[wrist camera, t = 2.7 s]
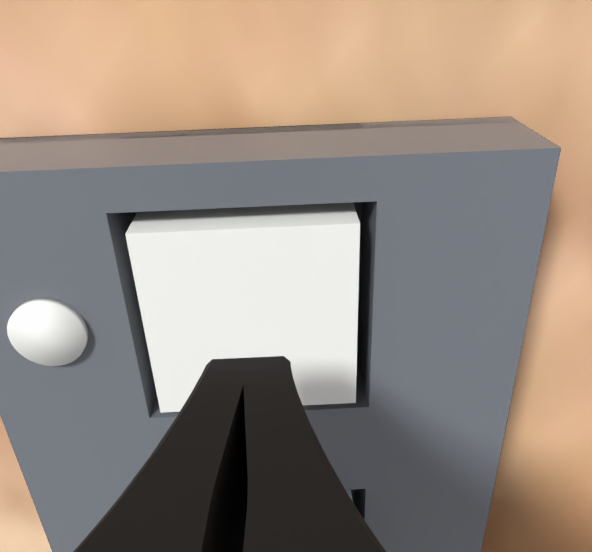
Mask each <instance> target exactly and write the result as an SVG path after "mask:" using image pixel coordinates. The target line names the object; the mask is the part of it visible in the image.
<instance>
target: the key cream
mask: <svg viewBox="0 0 592 552" xmlns="http://www.w3.org/2000/svg"><path fill="white" fill-rule="evenodd" d="M125 236H126V241H127V246H128V251H129V256H130V261H131V266H132V271H133V276H134V281H135V286H136V291H137V296H138V301H139V306H140V312H141V317H142V322H143V327H144V332H145V337H146V342H147V347H148V352H149V357H150V362H151V367H152V372H153V377H154V382H155V388H156V393H157V398H158V403H159V408H160V413H163V412H180V411H181V409H182V407H183V406H184V404H185V402H186V401H187V399H188V397H189V396H190V394H191V392H192V391H193V389H194V387H195V385H196V384H197V382H198V380H199V378H200V376H201V374H202V372H203V371H204V369H205V367H206V365H207V364H208V363H209V362H210V361H211V360H212V359H228V358H251V357H273V356H284V357H286V358H287V359H288V360H289V361H290V363H291V370H292V375H293V379H294V382H295V386H296V389H297V392H298V395H299V397H300V400H301V402H302V405H323V404H343V403H356V375H357V333H358V292H359V250H360V221H359V219H358V216H357V213H356V210H355V207H354V204H353V202H351V203H328V204H306V205H283V206H261V207H238V208H216V209H193V210H171V211H148V212H137V214H136V215H135V217H134V219H133V221H132V223H131V224H130V226H129V228H128V230H127V232H126V233H125Z"/></svg>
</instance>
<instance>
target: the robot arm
mask: <svg viewBox="0 0 592 552" xmlns="http://www.w3.org/2000/svg"><path fill="white" fill-rule="evenodd" d="M73 552H386V551H385V549H384V548H383V547H382V545H381V544H380V542H379V541H378V539H377V538H376V536H375V535H374V534H373V532H372V531H371V529H370V528H369V526H368V525H367V523H366V522H365V520H364V519H363V517H362V516H361V514H360V513H359V511H358V509H357V508H356V506H355V505H354V503H353V501H352V500H351V498H350V497H349V495H348V493H347V492H346V490H345V488H344V486H343V485H342V483H341V481H340V480H339V478H338V476H337V474H336V473H335V471H334V469H333V467H332V466H331V464H330V462H329V460H328V458H327V456H326V454H325V452H324V451H323V449H322V446H321V444H320V442H319V440H318V438H317V436H316V434H315V432H314V430H313V428H312V426H311V424H310V422H309V419H308V417H307V415H306V412H305V410H304V408H303V405H302V402H301V400H300V397H299V395H298V392H297V389H296V386H295V382H294V379H293V375H292V370H291V363H290V361H289V360H288V359H287V358H286V357H284V356H273V357H251V358H228V359H212V360H211V361H210V362H209V363H208V364H207V365H206V367H205V369H204V371H203V372H202V374H201V376H200V378H199V380H198V382H197V384H196V385H195V387H194V389H193V391H192V392H191V394H190V396H189V397H188V399H187V401H186V402H185V404H184V406H183V407H182V409H181V411H180V412H179V414H178V415H177V417H176V419H175V420H174V422H173V423H172V425H171V426H170V428H169V429H168V431H167V432H166V434H165V435H164V437H163V438H162V440H161V441H160V443H159V444H158V446H157V447H156V449H155V450H154V451H153V453H152V454H151V456H150V457H149V458H148V460H147V461H146V462H145V464H144V465H143V466H142V468H141V469H140V470H139V472H138V473H137V474H136V476H135V477H134V478H133V480H132V481H131V482H130V484H129V485H128V486H127V488H126V489H125V490H124V492H123V493H122V494H121V496H120V497H119V498H118V499H117V501H116V502H115V503H114V504H113V506H112V507H111V508H110V509H109V511H108V512H107V513H106V514H105V515H104V517H103V518H102V519H101V520H100V521H99V523H98V524H97V525H96V526H95V527H94V529H93V530H92V531H91V532H90V533H89V534H88V535H87V537H86V538H85V539H84V540H83V541H82V542H81V543H80V544H79V546H78V547H77V548H76V549H75V550H74V551H73Z"/></svg>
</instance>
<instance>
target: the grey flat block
mask: <svg viewBox="0 0 592 552" xmlns="http://www.w3.org/2000/svg"><path fill="white" fill-rule="evenodd" d="M560 151H561V147H559V146H558V145H556V144H554V143H553V142H551V141H549V140H548V139H546V138H545V137H543V136H541V135H540V134H538V133H537V132H535V131H533V130H532V129H530V128H528V127H527V126H525V125H524V124H522V123H520V122H519V121H517V120H516V119H514V118H512V117H491V118H467V119H444V120H420V121H396V122H373V123H349V124H325V125H301V126H278V127H254V128H230V129H206V130H183V131H159V132H135V133H111V134H88V135H64V136H40V137H17V138H0V415H1V418H2V421H3V423H4V426H5V428H6V431H7V434H8V436H9V439H10V442H11V444H12V447H13V450H14V452H15V455H16V457H17V460H18V463H19V465H20V468H21V471H22V473H23V476H24V478H25V481H26V484H27V486H28V489H29V492H30V494H31V497H32V499H33V502H34V505H35V507H36V510H37V513H38V515H39V518H40V521H41V523H42V526H43V528H44V531H45V534H46V536H47V539H48V542H49V544H50V547H51V549H52V552H73V551H74V550H75V549H76V548H77V547H78V546H79V544H80V543H81V542H82V541H83V540H84V539H85V538H86V537H87V535H88V534H89V533H90V532H91V531H92V530H93V529H94V527H95V526H96V525H97V524H98V523H99V521H100V520H101V519H102V518H103V517H104V515H105V514H106V513H107V512H108V511H109V509H110V508H111V507H112V506H113V504H114V503H115V502H116V501H117V499H118V498H119V497H120V496H121V494H122V493H123V492H124V490H125V489H126V488H127V486H128V485H129V484H130V482H131V481H132V480H133V478H134V477H135V476H136V474H137V473H138V472H139V470H140V469H141V468H142V466H143V465H144V464H145V462H146V461H147V460H148V458H149V457H150V456H151V454H152V453H153V451H154V450H155V449H156V447H157V446H158V444H159V443H160V441H161V440H162V438H163V437H164V435H165V434H166V432H167V431H168V429H169V428H170V426H171V425H172V423H173V422H174V420H175V419H176V417H177V415H178V414H179V412H163V413H160V408H159V403H158V398H157V393H156V388H155V382H154V377H153V372H152V367H151V362H150V357H149V352H148V347H147V342H146V337H145V332H144V327H143V322H142V317H141V312H140V306H139V301H138V296H137V291H136V286H135V281H134V276H133V271H132V266H131V261H130V256H129V251H128V246H127V241H126V236H125V233H126V232H127V230H128V228H129V226H130V224H131V223H132V221H133V219H134V217H135V215H136V214H137V212H148V211H171V210H193V209H216V208H238V207H261V206H283V205H306V204H328V203H351V202H353V204H354V207H355V210H356V213H357V216H358V219H359V221H360V250H359V292H358V333H357V375H356V403H343V404H323V405H303V408H304V410H305V412H306V415H307V417H308V419H309V422H310V424H311V426H312V428H313V430H314V432H315V434H316V436H317V438H318V440H319V442H320V444H321V446H322V449H323V451H324V452H325V454H326V456H327V458H328V460H329V462H330V464H331V466H332V467H333V469H334V471H335V473H336V474H337V476H338V478H339V480H340V481H341V483H342V485H343V486H344V488H345V490H351V493H352V500H353V503H354V505H355V506H356V508H357V509H358V511H359V513H360V514H361V516H362V517H363V519H364V520H365V522H366V523H367V525H368V526H369V528H370V529H371V531H372V532H373V534H374V535H375V536H376V538H377V539H378V541H379V542H380V544H381V545H382V547H383V548H384V549H385V551H386V552H481V550H482V545H483V540H484V535H485V530H486V525H487V520H488V515H489V510H490V504H491V499H492V494H493V489H494V484H495V479H496V474H497V469H498V464H499V459H500V454H501V449H502V444H503V439H504V434H505V429H506V424H507V419H508V414H509V409H510V403H511V398H512V393H513V388H514V383H515V378H516V373H517V368H518V363H519V358H520V353H521V348H522V343H523V338H524V333H525V328H526V323H527V318H528V313H529V308H530V302H531V297H532V292H533V287H534V282H535V277H536V272H537V267H538V262H539V257H540V252H541V247H542V242H543V237H544V232H545V227H546V222H547V217H548V212H549V207H550V201H551V196H552V191H553V186H554V181H555V176H556V171H557V166H558V161H559V156H560Z"/></svg>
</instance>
